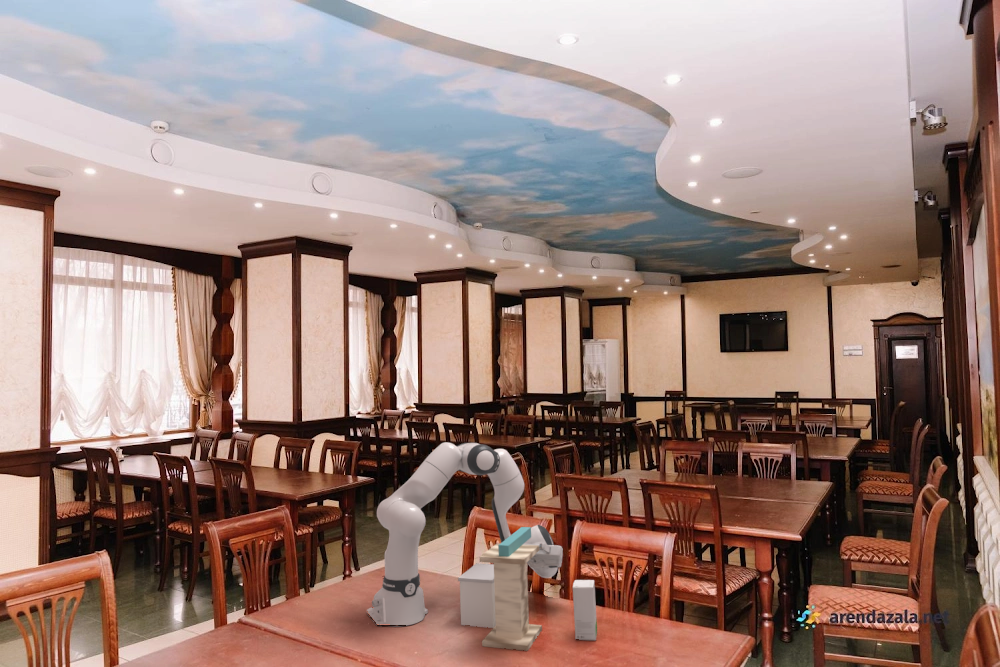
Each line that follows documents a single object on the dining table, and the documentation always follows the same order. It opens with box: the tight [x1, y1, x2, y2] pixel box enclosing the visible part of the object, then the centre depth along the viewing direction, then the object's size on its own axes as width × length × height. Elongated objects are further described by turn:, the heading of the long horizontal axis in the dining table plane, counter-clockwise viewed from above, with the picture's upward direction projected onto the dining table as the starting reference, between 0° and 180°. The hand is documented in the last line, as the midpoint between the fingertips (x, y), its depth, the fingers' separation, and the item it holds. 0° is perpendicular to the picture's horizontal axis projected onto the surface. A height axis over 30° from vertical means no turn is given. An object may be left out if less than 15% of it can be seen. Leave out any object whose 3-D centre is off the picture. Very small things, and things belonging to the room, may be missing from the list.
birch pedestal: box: [479, 542, 543, 652], centre depth 202 cm, size 16×14×26 cm
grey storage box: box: [457, 562, 496, 629], centre depth 220 cm, size 17×12×15 cm
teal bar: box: [498, 526, 531, 557], centre depth 209 cm, size 24×3×3 cm, turn 161°
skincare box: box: [572, 579, 598, 641], centre depth 202 cm, size 8×7×16 cm
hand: (527, 544), depth 221 cm, fingers open, 8 cm apart
